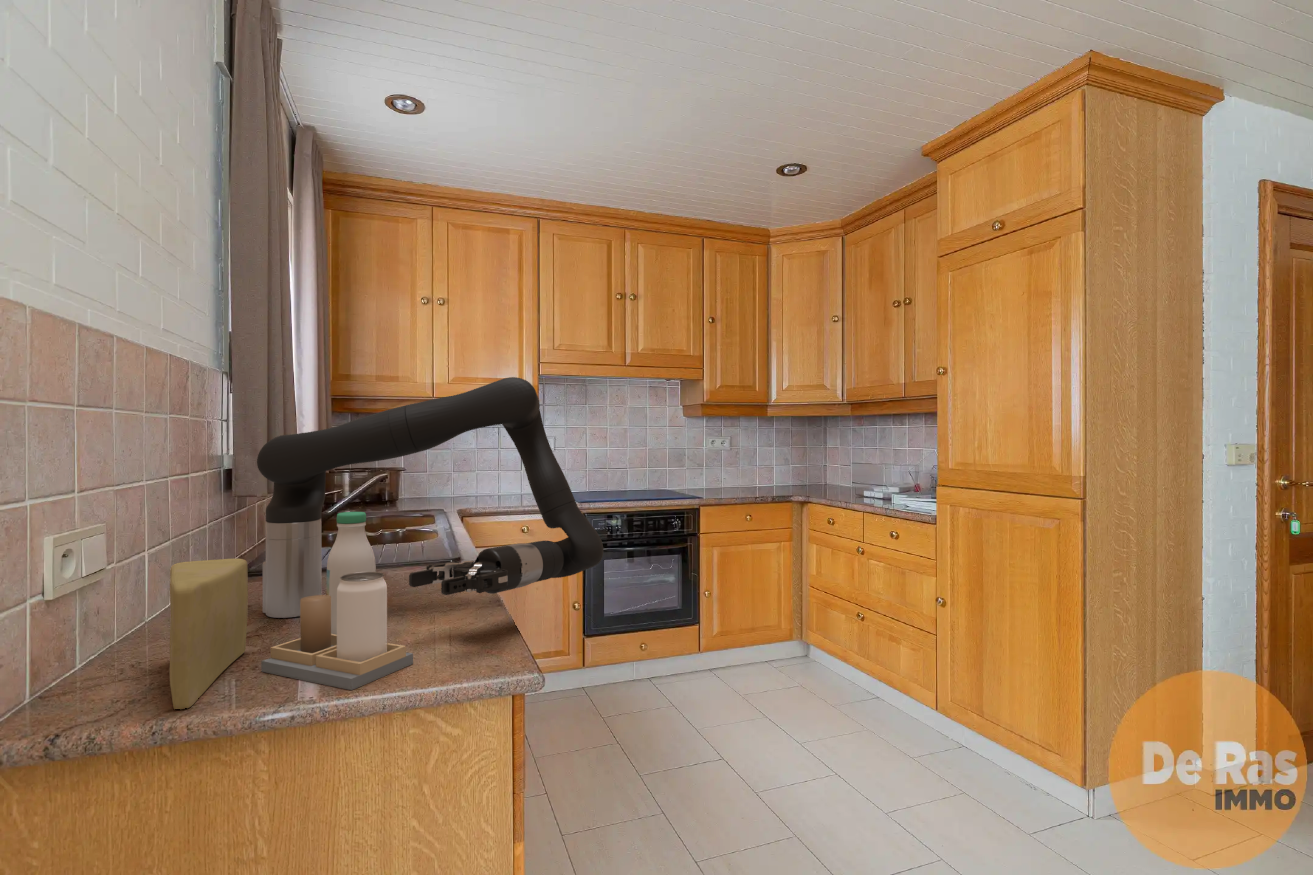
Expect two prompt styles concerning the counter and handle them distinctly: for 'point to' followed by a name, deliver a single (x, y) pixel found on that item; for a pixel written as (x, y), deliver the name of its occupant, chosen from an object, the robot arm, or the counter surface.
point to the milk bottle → (348, 556)
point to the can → (361, 616)
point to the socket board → (328, 653)
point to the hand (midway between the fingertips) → (426, 584)
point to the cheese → (205, 624)
